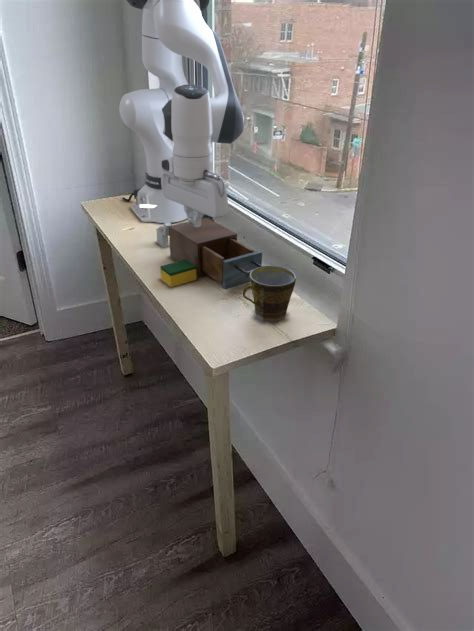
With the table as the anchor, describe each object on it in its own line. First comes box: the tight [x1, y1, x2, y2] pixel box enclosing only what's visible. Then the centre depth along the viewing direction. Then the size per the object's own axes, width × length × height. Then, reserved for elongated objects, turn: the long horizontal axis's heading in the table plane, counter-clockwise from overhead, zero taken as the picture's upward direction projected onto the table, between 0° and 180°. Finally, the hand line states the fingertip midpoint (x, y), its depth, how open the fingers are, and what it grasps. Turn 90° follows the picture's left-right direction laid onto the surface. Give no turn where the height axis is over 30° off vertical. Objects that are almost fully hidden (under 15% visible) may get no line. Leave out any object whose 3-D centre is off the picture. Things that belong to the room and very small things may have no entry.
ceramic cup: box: [242, 265, 297, 324], centre depth 111 cm, size 13×10×10 cm
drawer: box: [200, 238, 263, 291], centre depth 126 cm, size 19×11×7 cm, turn 36°
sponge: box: [159, 259, 197, 288], centre depth 128 cm, size 5×7×4 cm
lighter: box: [155, 222, 172, 248], centre depth 145 cm, size 7×2×8 cm, turn 33°
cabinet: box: [168, 218, 238, 278], centre depth 136 cm, size 15×12×9 cm
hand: (194, 225), depth 120 cm, fingers closed
